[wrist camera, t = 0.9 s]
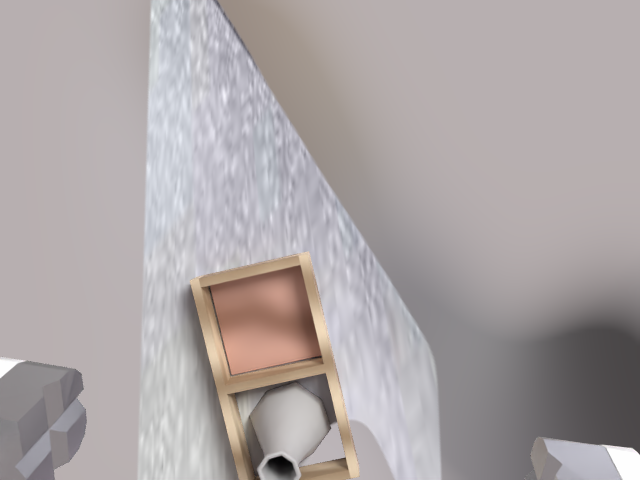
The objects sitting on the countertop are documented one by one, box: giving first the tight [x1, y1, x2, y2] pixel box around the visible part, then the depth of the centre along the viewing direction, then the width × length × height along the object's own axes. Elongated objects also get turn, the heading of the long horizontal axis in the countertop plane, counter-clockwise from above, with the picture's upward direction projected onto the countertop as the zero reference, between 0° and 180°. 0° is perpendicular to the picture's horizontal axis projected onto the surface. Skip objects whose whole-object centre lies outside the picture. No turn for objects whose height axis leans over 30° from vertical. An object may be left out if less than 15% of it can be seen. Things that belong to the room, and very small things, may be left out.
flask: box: [250, 382, 331, 480], centre depth 47 cm, size 7×7×10 cm
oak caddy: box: [190, 251, 359, 480], centre depth 50 cm, size 20×11×2 cm, turn 13°
